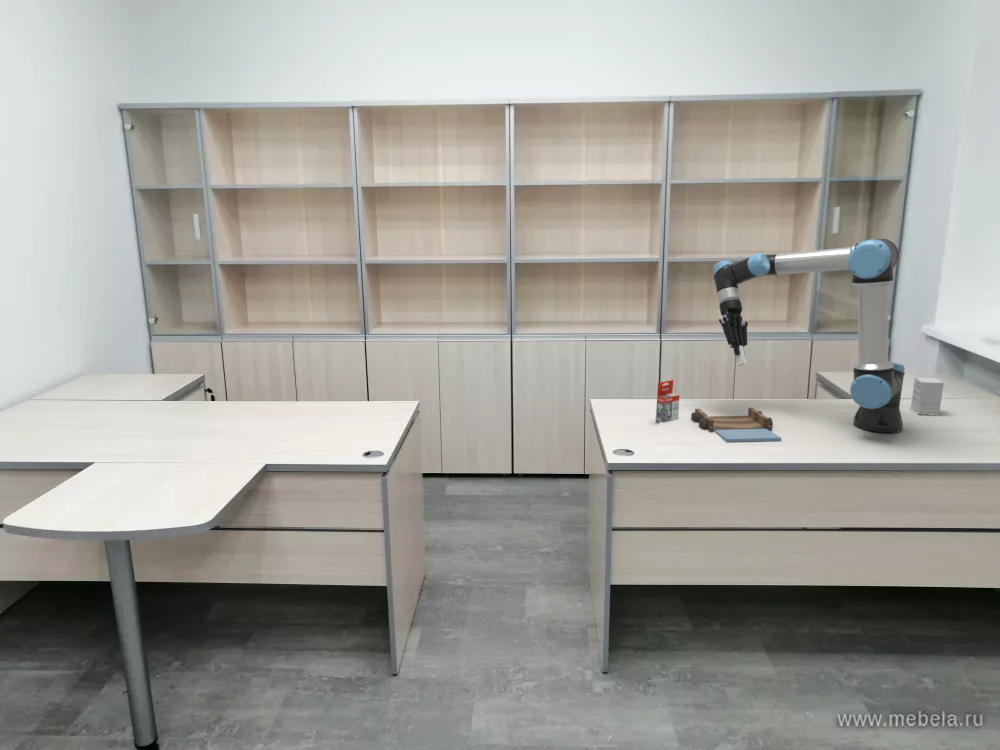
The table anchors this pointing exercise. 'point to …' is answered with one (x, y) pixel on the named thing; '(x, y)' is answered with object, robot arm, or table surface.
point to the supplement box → (927, 396)
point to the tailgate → (747, 435)
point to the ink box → (666, 403)
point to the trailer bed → (732, 421)
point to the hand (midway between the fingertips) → (741, 364)
